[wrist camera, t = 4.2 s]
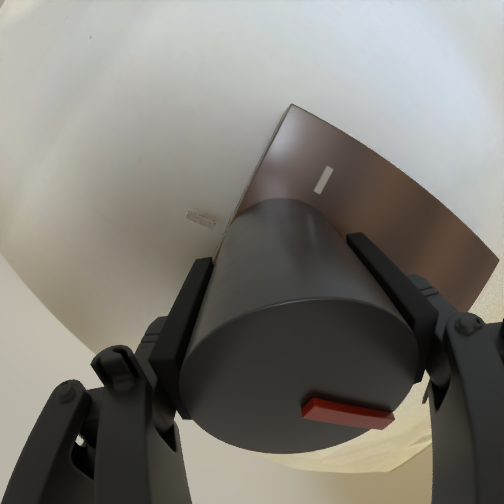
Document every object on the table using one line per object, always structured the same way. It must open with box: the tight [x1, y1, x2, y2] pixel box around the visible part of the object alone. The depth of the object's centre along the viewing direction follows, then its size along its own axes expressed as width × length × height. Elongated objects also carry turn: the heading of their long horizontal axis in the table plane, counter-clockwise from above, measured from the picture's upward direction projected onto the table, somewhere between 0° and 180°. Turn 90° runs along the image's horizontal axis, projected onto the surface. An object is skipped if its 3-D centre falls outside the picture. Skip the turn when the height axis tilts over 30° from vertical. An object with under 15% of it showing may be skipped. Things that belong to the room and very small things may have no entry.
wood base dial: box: [187, 104, 499, 312], centre depth 16 cm, size 20×14×3 cm
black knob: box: [179, 199, 419, 454], centre depth 10 cm, size 6×6×9 cm
